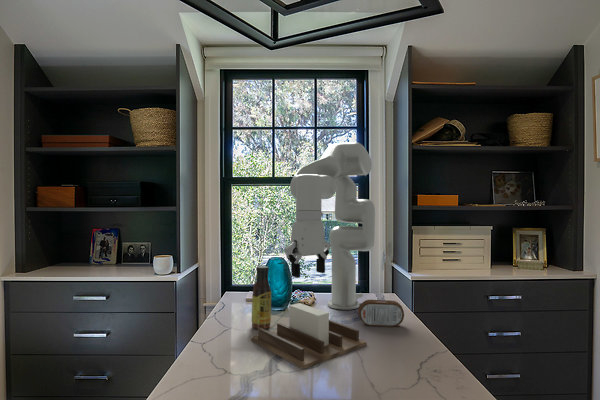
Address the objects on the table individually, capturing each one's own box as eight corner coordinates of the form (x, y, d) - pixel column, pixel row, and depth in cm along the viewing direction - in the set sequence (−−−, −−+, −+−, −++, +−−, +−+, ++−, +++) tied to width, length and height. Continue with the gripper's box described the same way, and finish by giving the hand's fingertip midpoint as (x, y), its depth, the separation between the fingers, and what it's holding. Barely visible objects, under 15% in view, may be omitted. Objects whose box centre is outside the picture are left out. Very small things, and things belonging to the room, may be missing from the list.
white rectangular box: (299, 331, 116) (299, 302, 116) (328, 344, 106) (328, 312, 106) (289, 334, 113) (289, 305, 113) (318, 348, 103) (318, 315, 103)
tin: (403, 325, 126) (403, 300, 126) (404, 328, 123) (405, 302, 123) (358, 323, 128) (358, 298, 127) (358, 326, 124) (358, 301, 124)
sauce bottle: (261, 331, 119) (261, 269, 119) (247, 327, 122) (247, 267, 122) (275, 326, 124) (275, 266, 124) (261, 322, 128) (261, 264, 128)
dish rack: (311, 323, 127) (311, 311, 127) (366, 345, 108) (366, 331, 108) (251, 340, 111) (251, 327, 111) (303, 369, 93) (303, 353, 93)
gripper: (321, 215, 118) (321, 269, 118) (277, 216, 107) (277, 276, 107) (338, 216, 112) (338, 272, 112) (293, 218, 101) (293, 281, 101)
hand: (308, 274), depth 110 cm, fingers open, 9 cm apart
